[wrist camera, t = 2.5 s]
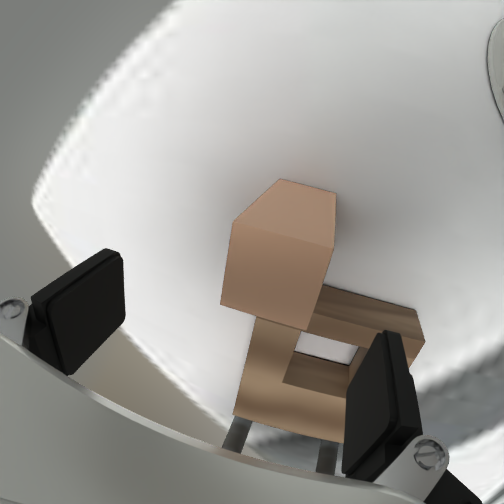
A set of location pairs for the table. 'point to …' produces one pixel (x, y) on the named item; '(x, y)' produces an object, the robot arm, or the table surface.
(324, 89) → the table surface
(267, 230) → the peg
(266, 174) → the table surface
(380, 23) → the table surface
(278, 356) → the socket block
